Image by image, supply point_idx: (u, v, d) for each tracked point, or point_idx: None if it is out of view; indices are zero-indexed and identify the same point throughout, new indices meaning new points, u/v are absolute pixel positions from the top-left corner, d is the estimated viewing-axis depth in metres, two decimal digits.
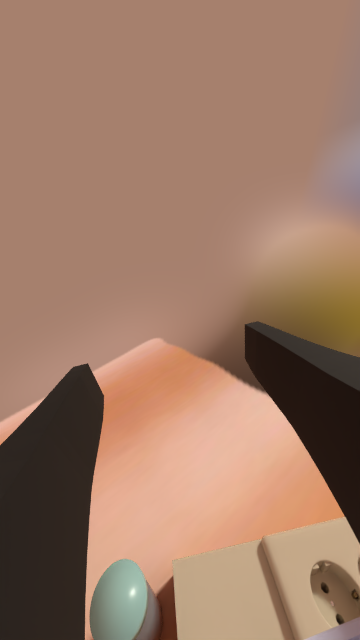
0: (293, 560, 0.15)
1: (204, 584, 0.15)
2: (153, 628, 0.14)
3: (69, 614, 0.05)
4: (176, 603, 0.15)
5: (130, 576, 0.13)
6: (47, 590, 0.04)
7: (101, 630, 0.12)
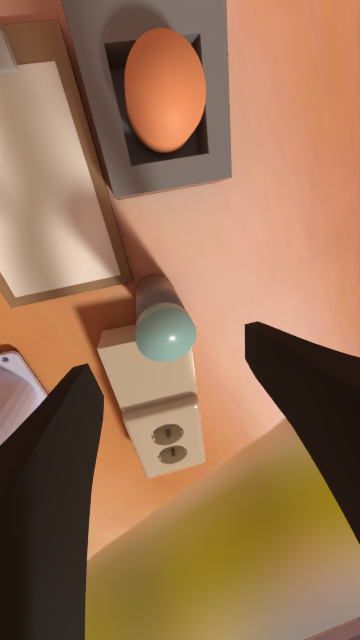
0: (184, 417, 0.20)
1: None
2: None
3: (69, 614, 0.05)
4: None
5: (182, 344, 0.12)
6: (47, 590, 0.04)
7: (146, 327, 0.11)
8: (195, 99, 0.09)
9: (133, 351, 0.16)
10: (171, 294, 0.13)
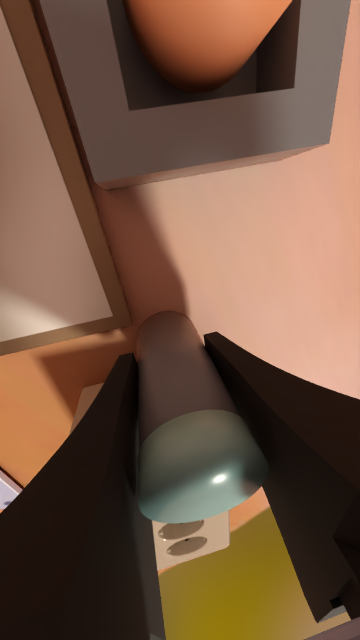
0: None
1: None
2: None
3: (152, 584, 0.05)
4: None
5: (236, 493, 0.06)
6: (139, 559, 0.04)
7: (164, 484, 0.05)
8: None
9: None
10: (205, 368, 0.07)
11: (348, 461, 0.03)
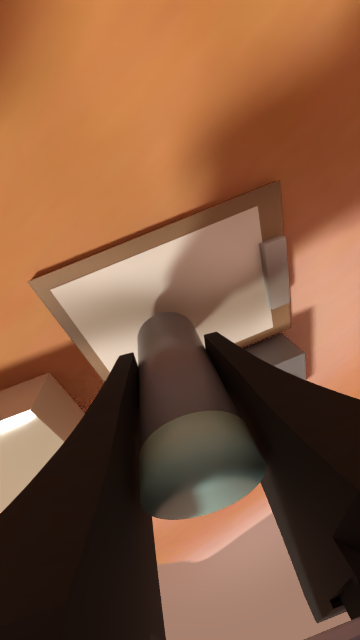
0: None
1: None
2: None
3: (152, 585, 0.05)
4: None
5: (233, 491, 0.06)
6: (139, 559, 0.04)
7: (166, 481, 0.05)
8: None
9: (43, 442, 0.12)
10: (206, 369, 0.07)
11: (348, 461, 0.03)
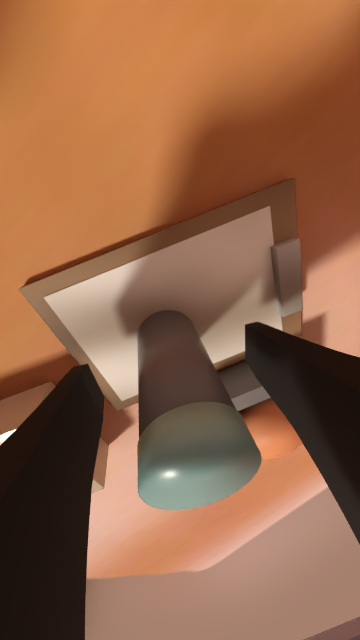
0: None
1: None
2: None
3: (69, 614, 0.05)
4: None
5: (230, 483, 0.06)
6: (47, 590, 0.04)
7: (163, 469, 0.05)
8: (278, 453, 0.13)
9: None
10: (204, 364, 0.07)
11: None
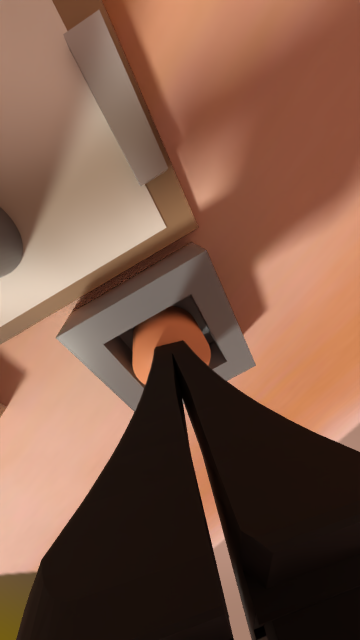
0: None
1: None
2: None
3: None
4: None
5: None
6: (209, 535, 0.05)
7: None
8: None
9: None
10: None
11: (247, 494, 0.03)
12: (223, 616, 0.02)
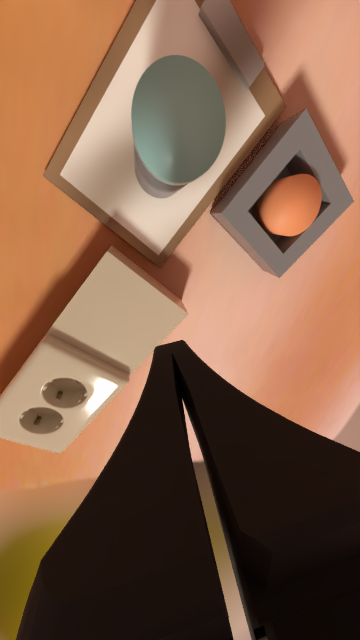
0: (100, 387, 0.17)
1: (154, 323, 0.16)
2: (168, 193, 0.11)
3: (215, 562, 0.05)
4: (167, 299, 0.15)
5: (209, 133, 0.07)
6: None
7: (143, 112, 0.07)
8: (301, 225, 0.14)
9: (131, 285, 0.14)
10: None
11: (247, 494, 0.03)
12: (223, 616, 0.02)
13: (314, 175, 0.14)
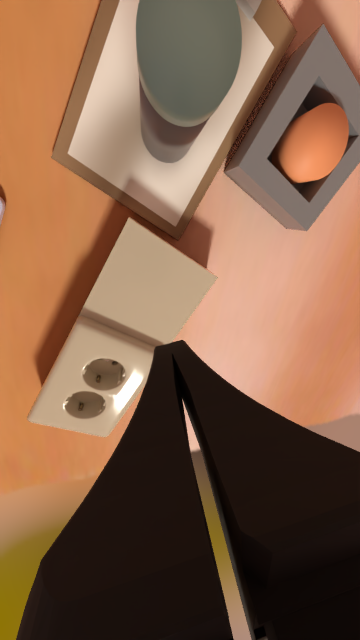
0: (138, 365, 0.16)
1: (183, 292, 0.15)
2: (178, 149, 0.11)
3: (215, 562, 0.05)
4: (194, 263, 0.14)
5: (222, 52, 0.07)
6: None
7: (149, 31, 0.06)
8: (327, 165, 0.13)
9: (157, 253, 0.14)
10: None
11: (247, 494, 0.03)
12: (223, 616, 0.02)
13: (337, 104, 0.12)
